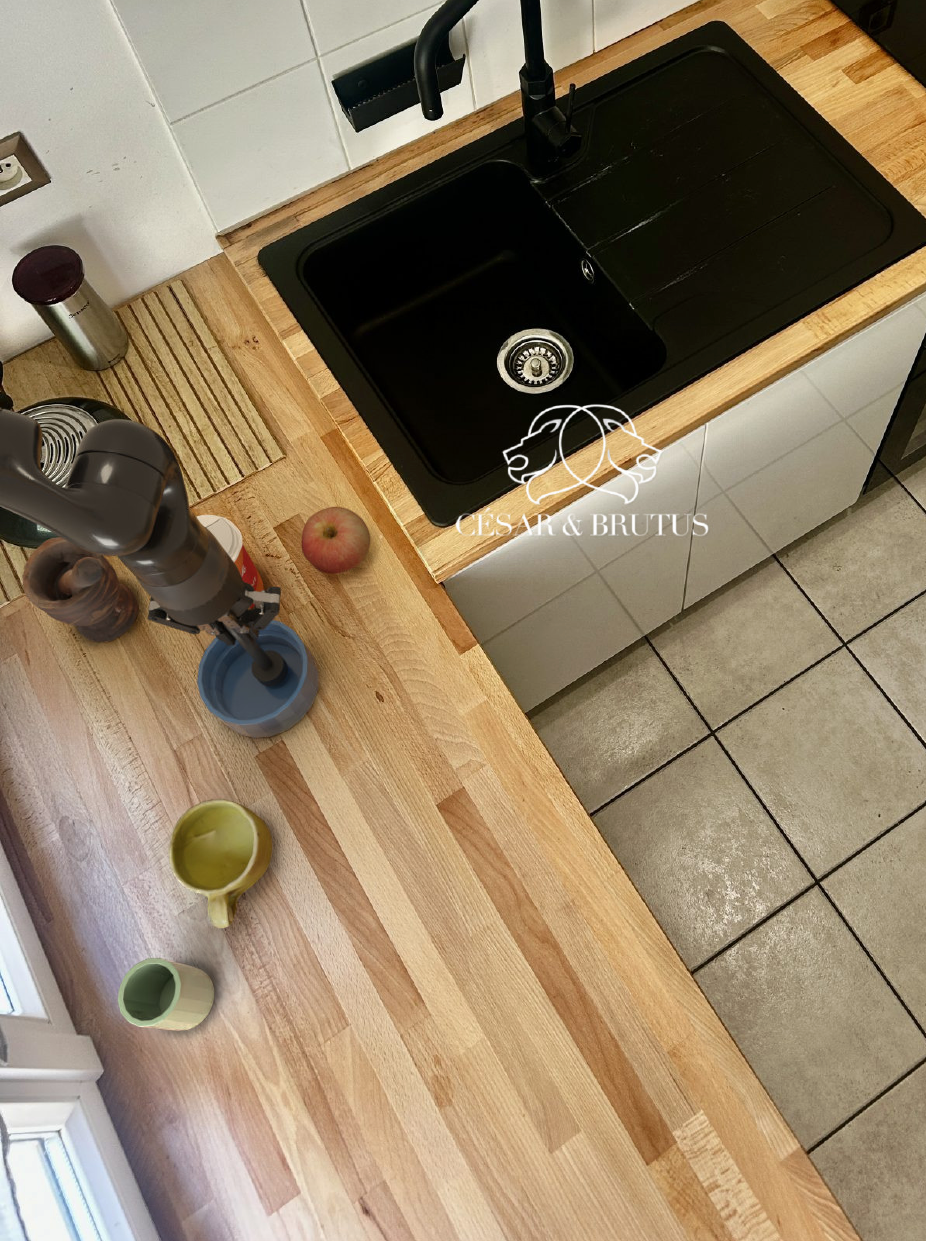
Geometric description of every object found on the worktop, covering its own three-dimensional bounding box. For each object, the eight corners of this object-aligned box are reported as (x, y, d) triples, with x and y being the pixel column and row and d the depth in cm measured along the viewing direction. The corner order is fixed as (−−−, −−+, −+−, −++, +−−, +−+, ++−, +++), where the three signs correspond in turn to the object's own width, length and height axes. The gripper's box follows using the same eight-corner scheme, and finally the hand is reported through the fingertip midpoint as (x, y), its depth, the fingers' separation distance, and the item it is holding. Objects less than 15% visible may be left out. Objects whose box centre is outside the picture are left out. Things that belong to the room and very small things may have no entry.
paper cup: (209, 627, 135) (167, 581, 122) (206, 568, 138) (165, 518, 126) (276, 614, 135) (241, 566, 123) (271, 555, 139) (236, 504, 126)
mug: (179, 796, 124) (174, 796, 114) (277, 801, 126) (280, 801, 117) (161, 918, 120) (155, 928, 111) (263, 920, 123) (264, 931, 113)
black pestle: (255, 687, 129) (207, 636, 114) (257, 656, 130) (211, 602, 116) (287, 685, 129) (244, 634, 114) (289, 655, 130) (247, 600, 116)
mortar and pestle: (177, 581, 138) (111, 508, 120) (162, 650, 133) (91, 585, 116) (82, 579, 138) (3, 506, 120) (64, 648, 134) (-21, 583, 116)
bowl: (210, 742, 128) (192, 727, 123) (219, 640, 134) (203, 622, 129) (317, 735, 128) (304, 720, 123) (322, 633, 134) (309, 614, 129)
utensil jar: (153, 1032, 115) (114, 1028, 106) (160, 969, 117) (122, 960, 108) (211, 1028, 114) (177, 1024, 106) (217, 965, 117) (183, 956, 108)
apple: (373, 583, 137) (360, 556, 130) (306, 585, 137) (289, 558, 130) (378, 522, 140) (365, 492, 133) (313, 524, 140) (296, 494, 133)
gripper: (264, 528, 106) (309, 598, 121) (117, 537, 106) (180, 606, 121) (257, 604, 102) (305, 666, 118) (105, 613, 102) (172, 674, 118)
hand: (241, 635), depth 119 cm, fingers closed on black pestle, 1 cm apart
